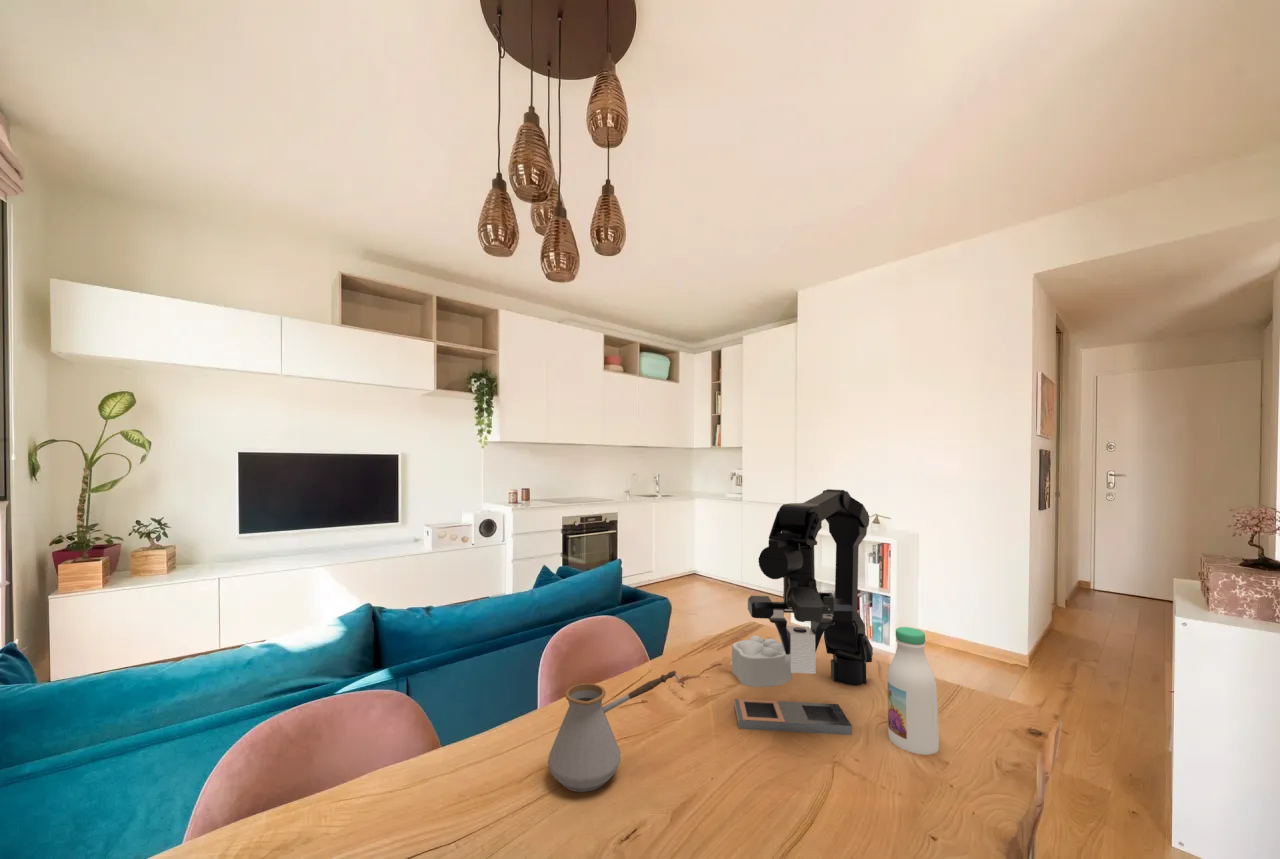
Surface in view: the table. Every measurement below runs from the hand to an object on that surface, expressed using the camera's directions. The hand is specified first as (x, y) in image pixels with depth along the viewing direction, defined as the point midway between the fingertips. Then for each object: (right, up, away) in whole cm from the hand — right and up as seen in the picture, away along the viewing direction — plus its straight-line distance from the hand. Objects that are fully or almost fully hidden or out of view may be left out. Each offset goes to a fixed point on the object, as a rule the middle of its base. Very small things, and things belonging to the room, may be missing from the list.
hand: (799, 654), depth 93 cm
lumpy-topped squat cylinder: (-2, -15, +19) cm, 24 cm away
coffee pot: (-34, -12, -14) cm, 39 cm away
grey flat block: (-2, -13, 0) cm, 13 cm away
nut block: (0, -3, 0) cm, 2 cm away
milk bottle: (+18, -13, -7) cm, 23 cm away
